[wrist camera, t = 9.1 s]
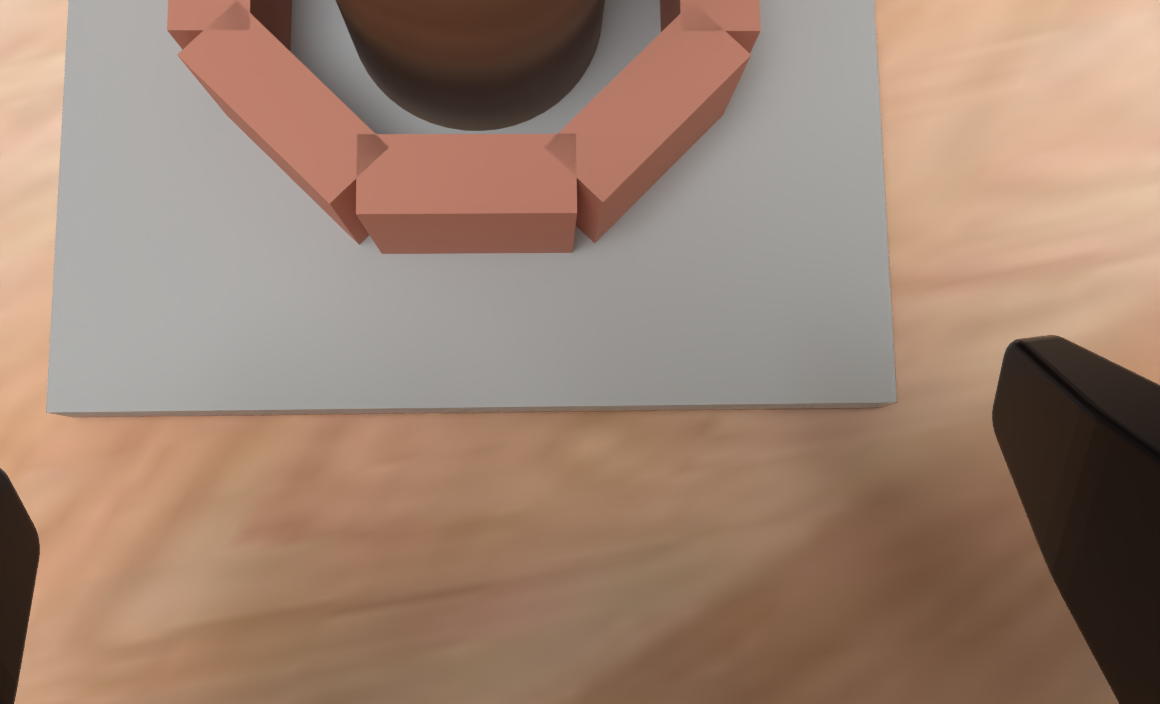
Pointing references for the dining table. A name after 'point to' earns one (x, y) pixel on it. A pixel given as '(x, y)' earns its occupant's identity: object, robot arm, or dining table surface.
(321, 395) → the band dock
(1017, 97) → the dining table surface
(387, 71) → the walnut peg
